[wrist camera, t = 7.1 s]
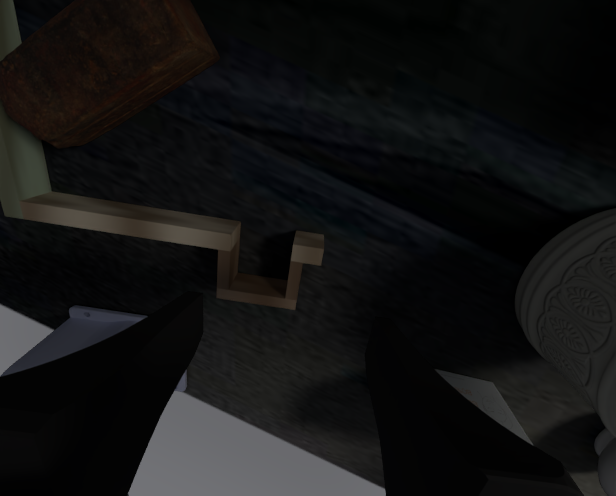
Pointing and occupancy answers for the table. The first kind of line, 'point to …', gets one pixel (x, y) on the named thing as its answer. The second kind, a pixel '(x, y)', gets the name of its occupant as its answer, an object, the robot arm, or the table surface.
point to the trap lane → (132, 209)
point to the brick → (101, 66)
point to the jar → (576, 309)
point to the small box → (485, 400)
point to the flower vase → (606, 461)
